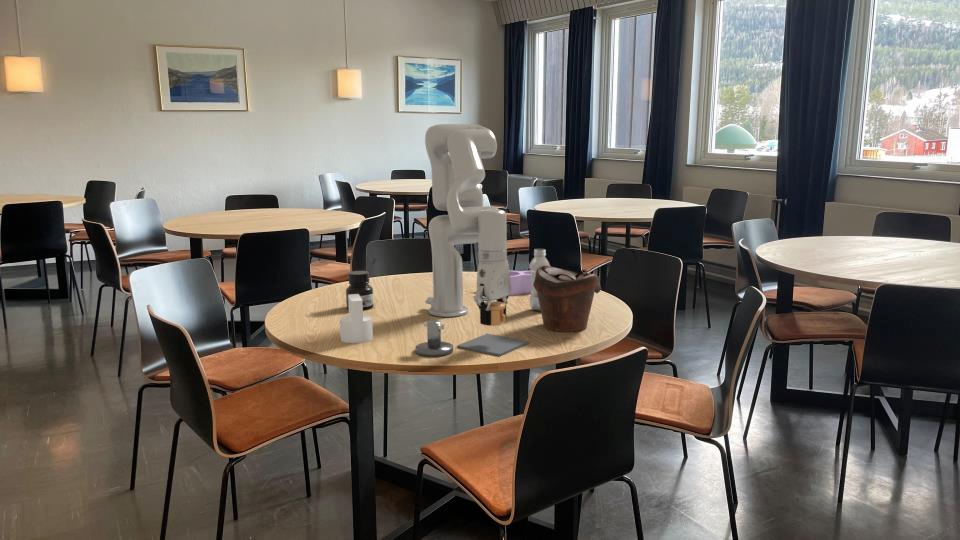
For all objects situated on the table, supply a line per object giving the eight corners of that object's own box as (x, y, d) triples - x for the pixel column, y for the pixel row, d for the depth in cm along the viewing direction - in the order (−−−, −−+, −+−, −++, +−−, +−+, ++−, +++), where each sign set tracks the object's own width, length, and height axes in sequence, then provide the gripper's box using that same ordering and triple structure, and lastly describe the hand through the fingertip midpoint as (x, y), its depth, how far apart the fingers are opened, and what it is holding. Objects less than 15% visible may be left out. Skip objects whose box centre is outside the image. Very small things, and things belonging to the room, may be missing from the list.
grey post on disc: (407, 352, 187) (406, 323, 185) (432, 343, 195) (431, 315, 193) (437, 359, 181) (436, 329, 179) (460, 349, 189) (460, 320, 187)
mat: (457, 347, 191) (457, 345, 191) (487, 335, 202) (487, 333, 202) (500, 356, 183) (500, 354, 183) (528, 343, 194) (528, 341, 194)
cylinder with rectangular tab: (375, 341, 197) (373, 299, 195) (342, 344, 195) (340, 302, 193) (370, 333, 206) (368, 293, 204) (339, 335, 203) (337, 295, 201)
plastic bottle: (549, 312, 227) (549, 251, 223) (528, 312, 228) (528, 251, 225) (551, 308, 233) (551, 248, 229) (530, 307, 235) (530, 247, 231)
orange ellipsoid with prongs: (476, 323, 190) (476, 303, 189) (490, 318, 195) (490, 299, 194) (496, 326, 186) (496, 306, 186) (509, 321, 192) (509, 302, 191)
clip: (537, 287, 266) (537, 269, 265) (543, 294, 254) (543, 275, 253) (484, 289, 264) (484, 271, 263) (488, 296, 252) (488, 277, 251)
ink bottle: (353, 312, 230) (352, 276, 228) (340, 307, 237) (339, 272, 235) (379, 307, 237) (378, 272, 234) (366, 303, 243) (364, 269, 241)
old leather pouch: (607, 333, 202) (607, 271, 199) (538, 336, 201) (537, 274, 198) (592, 318, 220) (593, 261, 217) (528, 321, 218) (528, 264, 215)
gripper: (485, 261, 179) (486, 330, 182) (522, 252, 192) (522, 316, 196) (461, 259, 183) (463, 326, 186) (499, 250, 197) (500, 313, 200)
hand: (493, 321), depth 191 cm, fingers closed on orange ellipsoid with prongs, 6 cm apart
